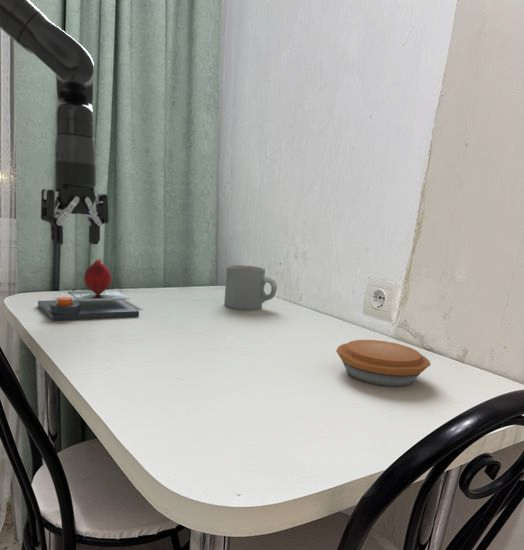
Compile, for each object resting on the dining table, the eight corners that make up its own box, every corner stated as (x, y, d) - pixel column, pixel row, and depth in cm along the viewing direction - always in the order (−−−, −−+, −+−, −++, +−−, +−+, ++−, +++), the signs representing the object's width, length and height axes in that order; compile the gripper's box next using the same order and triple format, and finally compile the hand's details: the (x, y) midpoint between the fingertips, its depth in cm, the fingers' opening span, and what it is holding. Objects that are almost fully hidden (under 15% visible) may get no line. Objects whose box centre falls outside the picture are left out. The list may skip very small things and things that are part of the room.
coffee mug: (217, 305, 131) (219, 266, 129) (235, 300, 140) (238, 264, 137) (263, 313, 126) (266, 273, 123) (279, 308, 135) (283, 270, 132)
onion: (111, 297, 112) (111, 261, 110) (83, 296, 111) (83, 259, 109) (111, 292, 118) (111, 257, 115) (85, 291, 116) (85, 256, 114)
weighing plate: (78, 300, 108) (78, 299, 108) (68, 292, 115) (68, 291, 115) (129, 299, 114) (129, 297, 114) (115, 291, 121) (115, 290, 121)
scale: (53, 322, 101) (52, 307, 100) (37, 306, 112) (37, 293, 111) (139, 317, 111) (139, 304, 110) (117, 304, 122) (117, 291, 121)
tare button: (59, 307, 102) (59, 299, 102) (56, 304, 104) (55, 297, 104) (73, 306, 104) (73, 299, 103) (70, 304, 106) (70, 296, 106)
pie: (360, 355, 97) (364, 330, 95) (439, 378, 88) (445, 350, 86) (316, 371, 85) (320, 343, 84) (403, 399, 76) (408, 368, 75)
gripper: (54, 157, 92) (56, 247, 97) (117, 165, 104) (116, 245, 108) (31, 156, 96) (34, 242, 101) (93, 164, 108) (93, 241, 112)
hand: (76, 244), depth 105 cm, fingers open, 8 cm apart
